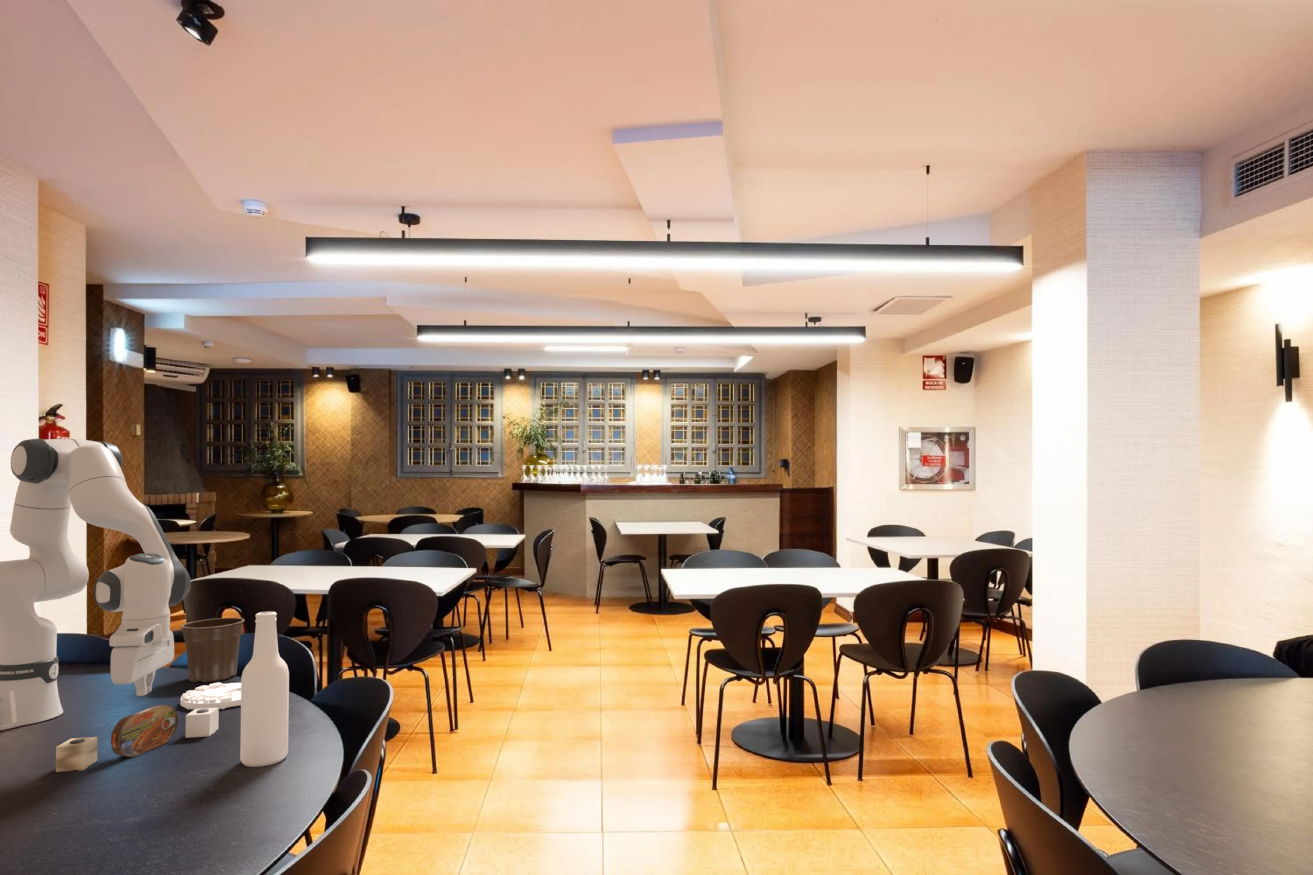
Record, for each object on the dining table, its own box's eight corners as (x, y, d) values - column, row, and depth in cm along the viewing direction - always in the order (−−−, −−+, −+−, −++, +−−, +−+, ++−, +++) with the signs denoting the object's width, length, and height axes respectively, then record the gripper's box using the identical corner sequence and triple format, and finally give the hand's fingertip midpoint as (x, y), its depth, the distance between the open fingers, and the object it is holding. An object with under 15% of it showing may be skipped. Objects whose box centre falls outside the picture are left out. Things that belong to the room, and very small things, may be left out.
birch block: (55, 772, 154) (56, 745, 154) (70, 763, 159) (70, 737, 159) (83, 770, 155) (83, 744, 155) (97, 761, 160) (97, 735, 160)
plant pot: (171, 678, 225) (172, 623, 226) (230, 667, 238) (231, 615, 239) (192, 688, 215) (193, 629, 216) (253, 676, 227) (253, 620, 228)
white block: (185, 737, 174) (185, 714, 174) (195, 730, 179) (195, 707, 179) (209, 736, 174) (209, 713, 175) (218, 729, 179) (218, 706, 180)
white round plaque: (279, 700, 204) (279, 688, 204) (196, 717, 189) (196, 705, 189) (249, 686, 217) (249, 676, 217) (169, 702, 203) (169, 690, 203)
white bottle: (297, 754, 162) (299, 610, 163) (263, 769, 153) (265, 617, 155) (265, 750, 165) (266, 608, 166) (230, 764, 156) (232, 615, 158)
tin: (119, 762, 159) (120, 721, 159) (107, 762, 159) (107, 720, 160) (178, 738, 173) (179, 700, 174) (167, 737, 174) (167, 699, 174)
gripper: (153, 620, 177) (151, 681, 177) (104, 640, 157) (102, 708, 157) (183, 619, 178) (181, 680, 178) (138, 639, 158) (136, 707, 158)
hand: (143, 694), depth 167 cm, fingers closed
